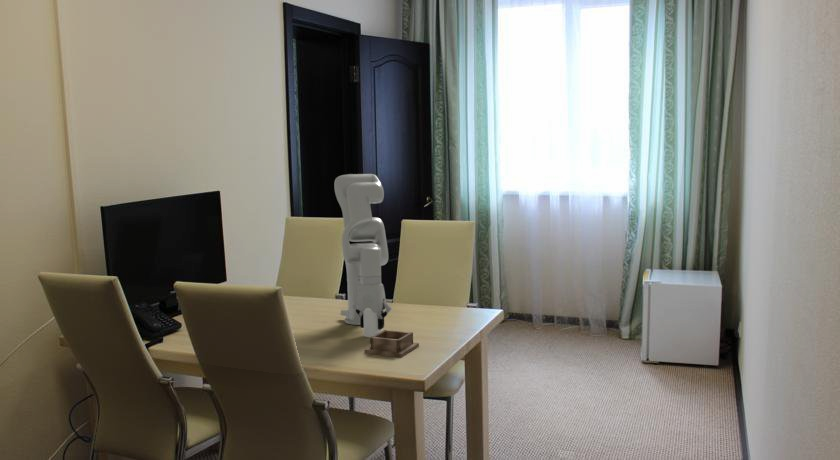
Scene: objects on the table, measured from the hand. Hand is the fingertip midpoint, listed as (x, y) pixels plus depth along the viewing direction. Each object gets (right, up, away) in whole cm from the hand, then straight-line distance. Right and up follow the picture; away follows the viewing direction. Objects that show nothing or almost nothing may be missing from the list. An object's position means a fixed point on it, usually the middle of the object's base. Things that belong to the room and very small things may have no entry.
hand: (372, 327), depth 274 cm
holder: (+8, -5, -18) cm, 21 cm away
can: (0, -3, 0) cm, 3 cm away
